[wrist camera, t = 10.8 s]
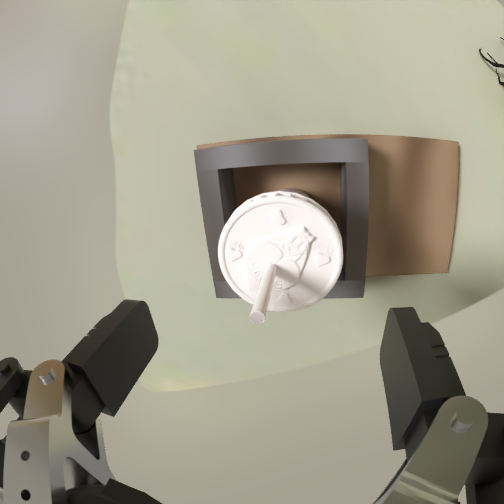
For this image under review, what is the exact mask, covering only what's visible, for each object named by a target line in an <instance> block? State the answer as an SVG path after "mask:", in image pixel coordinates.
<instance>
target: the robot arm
mask: <svg viewBox="0 0 504 504" xmlns="http://www.w3.org/2000/svg"><path fill="white" fill-rule="evenodd" d="M157 348H158V335H157V332H156V329H155V326H154V323H153V320H152V317H151V314H150V310H149V307H148V305H147V303H146V302H144V301H137V300H127V299H126V300H124V301H122V302H121V303H120V304H119V305H118V306H117V307H116V309H114V310H113V312H112V313H110V314H109V315H107V316H105V317H104V318H102V319H101V320H100V321H99V322H98V323H97V324H96V325H95V326H94V329H92V330H90V331H89V333H88V334H87V336H85V337H84V338H83V339H82V340H81V341H80V342H79V343H78V344H77V345H76V346H75V348H74V349H73V350H72V351H71V352H70V353H69V354H68V355H67V356H66V357H65V358H64V360H63V361H62V362H61V361H59V360H48V361H45V362H43V363H41V364H39V365H38V366H37V367H36V368H35V369H34V370H33V371H28V370H23V368H22V367H21V365H20V364H19V362H18V360H17V359H15V358H13V357H9V358H5V359H3V360H1V361H0V413H1V411H2V410H3V409H4V407H5V406H6V405H7V403H8V402H9V403H10V405H11V406H12V407H13V408H14V410H15V411H16V412H17V413H18V414H19V418H18V419H17V420H14V421H11V422H10V423H9V425H8V430H7V435H6V436H5V438H4V439H2V440H0V504H162V503H160V502H159V501H157V500H155V499H154V498H152V497H151V496H149V495H148V494H146V493H145V492H142V491H139V490H137V489H134V488H131V487H129V486H127V485H125V484H122V483H120V482H118V481H116V479H115V477H114V475H113V474H112V472H111V471H110V469H109V466H108V463H107V458H106V452H105V446H104V440H103V432H102V424H101V420H100V419H99V417H98V416H99V415H100V413H101V412H102V413H105V414H107V415H110V416H113V417H114V416H115V414H116V413H117V411H118V410H119V408H120V407H121V405H122V403H123V402H124V400H125V399H126V397H127V396H128V394H129V393H130V391H131V389H132V388H133V386H134V385H135V383H136V382H137V380H138V379H139V377H140V375H141V374H142V372H143V371H144V369H145V368H146V366H147V365H148V363H149V362H150V360H151V359H152V357H153V356H154V354H155V352H156V351H157ZM380 365H381V370H382V376H383V381H384V386H385V393H386V399H387V404H388V411H389V418H390V426H391V434H392V442H393V450H400V449H406V460H405V461H404V462H403V464H402V465H401V467H400V468H399V469H398V471H397V472H396V474H395V475H394V477H393V478H392V479H391V481H390V482H389V483H388V485H387V486H386V487H385V489H384V490H383V491H382V493H381V494H380V495H379V496H378V497H377V499H376V500H375V501H374V502H373V503H372V504H460V502H458V496H459V493H460V492H461V490H462V488H463V486H464V485H465V486H466V498H467V504H504V414H500V413H487V412H486V409H485V408H484V406H483V405H482V404H481V403H480V402H479V401H477V400H476V399H474V398H472V397H469V396H466V394H465V392H464V389H463V387H462V384H461V381H460V379H459V376H458V374H457V372H456V369H455V367H454V365H453V363H452V360H451V357H449V353H448V351H447V349H446V347H445V346H444V342H443V340H442V338H441V336H440V334H439V332H438V331H437V330H436V329H435V328H434V327H433V326H432V325H430V324H429V323H428V322H426V323H421V322H420V319H419V317H418V315H417V313H416V311H415V309H414V308H413V307H405V308H390V309H389V311H388V315H387V320H386V325H385V330H384V335H383V339H382V344H381V349H380Z"/></svg>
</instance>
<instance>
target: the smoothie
mask: <svg viewBox="0 0 504 504" xmlns="http://www.w3.org/2000/svg"><path fill="white" fill-rule="evenodd" d="M218 259H219V264H220V268H221V271H222V273H223V275H224V277H225V279H226V281H227V283H228V284H229V285H230V287H231V288H232V289H233V290H234V291H235V292H236V293H237V294H238V295H239V296H240V297H241V298H243V299H244V300H246V301H247V302H249V303H250V304H252V305H253V308H252V311H251V314H250V319H251V321H252V322H254V323H257V324H259V323H262V322H263V321H264V320H265V316H266V312H267V310H270V311H277V312H289V311H296V310H300V309H304V308H306V307H309V306H311V305H313V304H315V303H317V302H318V301H320V300H321V299H322V298H324V297H325V296H326V295H327V294H328V293H329V292H330V291H331V289H332V288H333V287H334V285H335V284H336V282H337V280H338V278H339V275H340V273H341V269H342V264H343V247H342V237H341V235H340V232H339V229H338V227H337V224H336V222H335V221H334V220H333V218H332V217H331V216H330V214H329V213H328V212H327V210H326V209H324V208H323V207H322V206H320V205H319V204H318V203H317V202H315V201H314V200H313V199H310V198H309V196H308V195H307V194H306V193H304V192H303V191H301V190H299V189H296V188H284V189H281V190H279V191H274V192H268V193H262V194H260V195H257V196H255V197H253V198H251V199H248V200H246V201H245V202H244V203H243V204H242V205H241V206H239V207H238V208H237V209H236V210H235V211H234V212H233V214H232V215H231V217H230V218H229V220H228V221H227V223H226V224H225V226H224V228H223V230H222V233H221V235H220V239H219V244H218Z"/></svg>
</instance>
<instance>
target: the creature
mask: <svg viewBox="0 0 504 504" xmlns="http://www.w3.org/2000/svg"><path fill="white" fill-rule="evenodd" d="M500 38H501V37H500ZM501 39H503V38H501ZM503 40H504V39H503ZM480 50H481V49H479V52H480V54H481V55H482V57H483V58H484V59H485V60H486V61H488V62H489V63H490V64H492V65H493V66H495V67H501V68H504V65H503V64H498V63H497V62H496V61H495V60H494V59H493V58H492V57H491V56H490V55H489V54H488V53H487V54H488V55H489V56H490V57H491V58H492V59H493V60H494V61H495V62H496V63H493V62H491V61H490V60H488V59H487V58H485V57H484V56H483V54H482V53H481V51H480ZM496 73H497V69H496ZM497 75H498V73H497ZM498 80H499V84H501V85H504V82H501V81H500V77H499V75H498Z"/></svg>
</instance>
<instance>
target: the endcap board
mask: <svg viewBox="0 0 504 504" xmlns="http://www.w3.org/2000/svg"><path fill="white" fill-rule="evenodd" d="M194 155H195V163H196V171H197V178H198V186H199V193H200V200H201V207H202V213H203V220H204V227H205V233H206V239H207V245H208V252H209V258H210V264H211V269H212V275H213V281H214V286H215V292H216V298H241V297H240V296H239V295H238V294H237V293H236V292H235V291H234V290H233V289H232V288H231V287H230V285H229V284H228V283H227V281H226V279H225V277H224V275H223V273H222V271H221V268H220V264H219V259H218V244H219V239H220V235H221V233H222V230H223V228H224V226H225V224H226V223H227V221H228V220H229V218H230V217H231V215H232V214H233V212H234V211H235V210H236V209H237V208H238V207H239V206H241V205H242V204H243V203H244V202H245V201H246V200H248V199H251V198H253V197H255V196H257V195H260V194H262V193H268V192H274V191H279V190H281V189H284V188H296V189H299V190H301V191H303V192H304V193H306V194H307V195H308V196H309V198H310V199H313V200H314V201H315V202H317V203H318V204H319V205H320V206H322V207H323V208H324V209H326V210H327V212H328V213H329V214H330V216H331V217H332V218H333V220H334V221H335V222H336V224H337V227H338V229H339V232H340V235H341V237H342V247H343V264H342V269H341V273H340V275H339V278H338V280H337V282H336V284H335V285H334V287H333V288H332V289H331V291H330V292H329V293H328V294H327V295H326V296H325V297H324V298H322V299H327V298H363V296H364V286H365V276H382V275H410V274H433V273H447V269H448V264H449V259H450V253H451V247H452V240H453V233H454V225H455V216H456V205H457V192H458V168H459V143H458V142H456V141H448V140H439V139H429V138H418V137H405V136H387V135H300V136H282V137H268V138H256V139H245V140H236V141H227V142H219V143H211V144H204V145H197V150H194ZM241 299H243V298H241Z"/></svg>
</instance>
